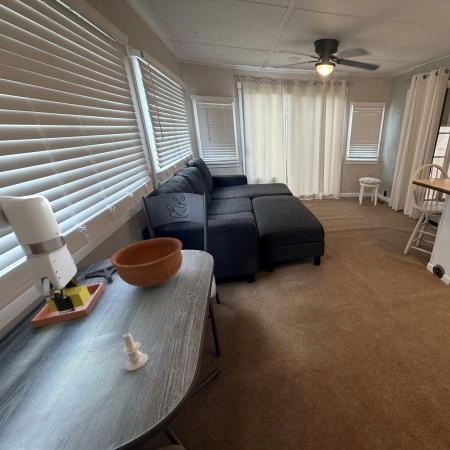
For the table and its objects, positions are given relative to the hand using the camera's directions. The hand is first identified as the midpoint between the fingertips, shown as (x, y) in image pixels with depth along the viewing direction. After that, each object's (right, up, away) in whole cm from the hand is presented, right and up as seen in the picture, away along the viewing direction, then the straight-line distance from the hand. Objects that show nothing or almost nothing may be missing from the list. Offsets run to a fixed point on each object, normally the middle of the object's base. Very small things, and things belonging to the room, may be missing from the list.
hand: (71, 303), depth 67 cm
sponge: (0, 0, 0) cm, 0 cm away
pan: (-19, -8, +20) cm, 29 cm away
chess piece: (+20, -16, -2) cm, 25 cm away
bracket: (-21, -1, +39) cm, 44 cm away
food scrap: (-16, -9, +16) cm, 25 cm away
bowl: (+3, -2, +34) cm, 35 cm away
